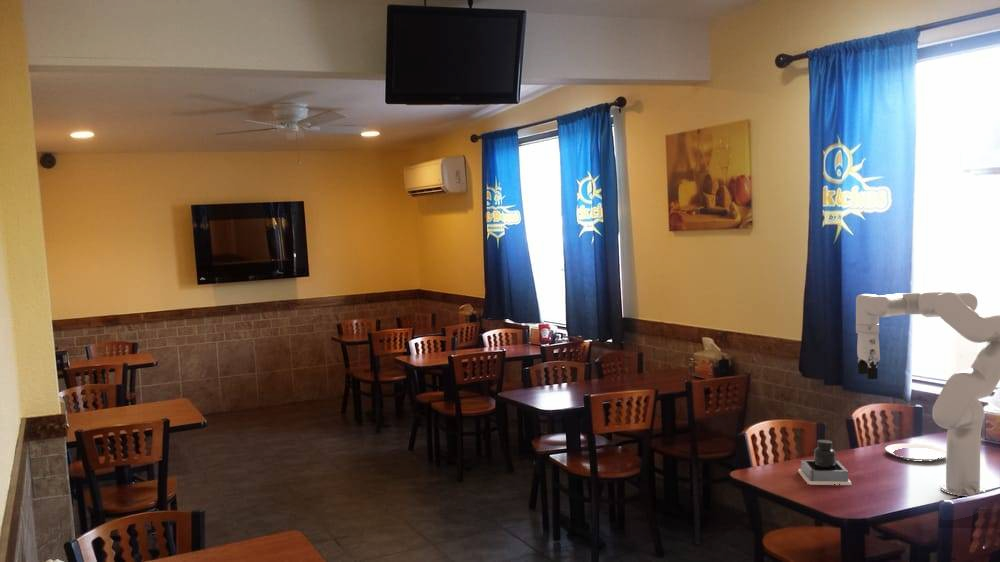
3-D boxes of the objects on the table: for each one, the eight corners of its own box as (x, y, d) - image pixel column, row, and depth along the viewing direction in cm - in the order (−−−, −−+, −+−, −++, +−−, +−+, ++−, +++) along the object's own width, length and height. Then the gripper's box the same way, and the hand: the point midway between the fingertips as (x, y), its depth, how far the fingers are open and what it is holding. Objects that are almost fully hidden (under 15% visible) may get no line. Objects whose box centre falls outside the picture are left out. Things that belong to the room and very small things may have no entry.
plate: (884, 461, 297) (884, 455, 297) (886, 446, 315) (886, 441, 315) (948, 468, 287) (948, 461, 287) (947, 452, 306) (947, 446, 305)
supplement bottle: (838, 478, 275) (838, 443, 275) (818, 478, 275) (818, 444, 275) (830, 472, 282) (830, 438, 281) (811, 472, 282) (811, 438, 281)
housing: (851, 485, 271) (851, 472, 271) (808, 484, 273) (808, 471, 273) (839, 472, 285) (839, 459, 285) (798, 471, 287) (798, 459, 286)
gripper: (887, 331, 279) (887, 380, 280) (869, 325, 296) (869, 371, 297) (864, 332, 279) (864, 381, 280) (848, 326, 296) (848, 372, 298)
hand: (867, 376), depth 289 cm, fingers open, 9 cm apart
